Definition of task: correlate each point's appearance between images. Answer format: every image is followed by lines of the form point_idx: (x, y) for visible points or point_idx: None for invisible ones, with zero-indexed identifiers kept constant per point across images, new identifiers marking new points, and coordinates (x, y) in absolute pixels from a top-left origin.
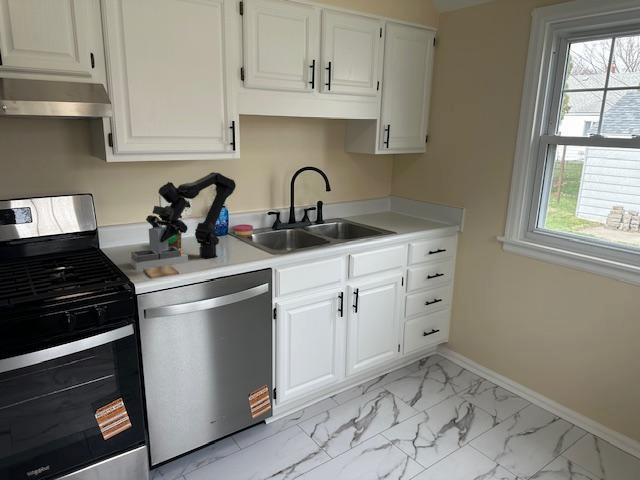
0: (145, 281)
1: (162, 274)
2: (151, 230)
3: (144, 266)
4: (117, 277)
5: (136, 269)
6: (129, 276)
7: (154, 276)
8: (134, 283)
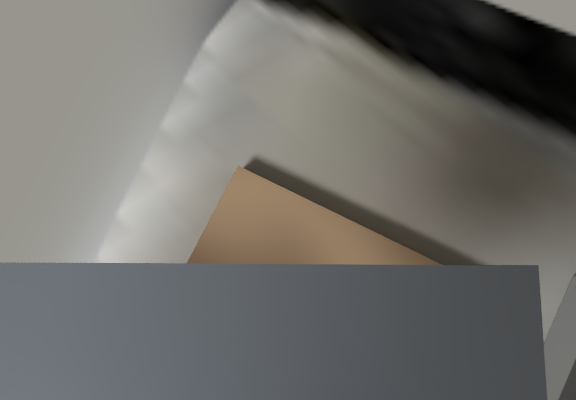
0: (221, 85)
1: (188, 260)
2: (336, 265)
3: (549, 354)
4: (515, 27)
5: (574, 276)
6: (450, 101)
7: (226, 193)
8: (260, 4)
